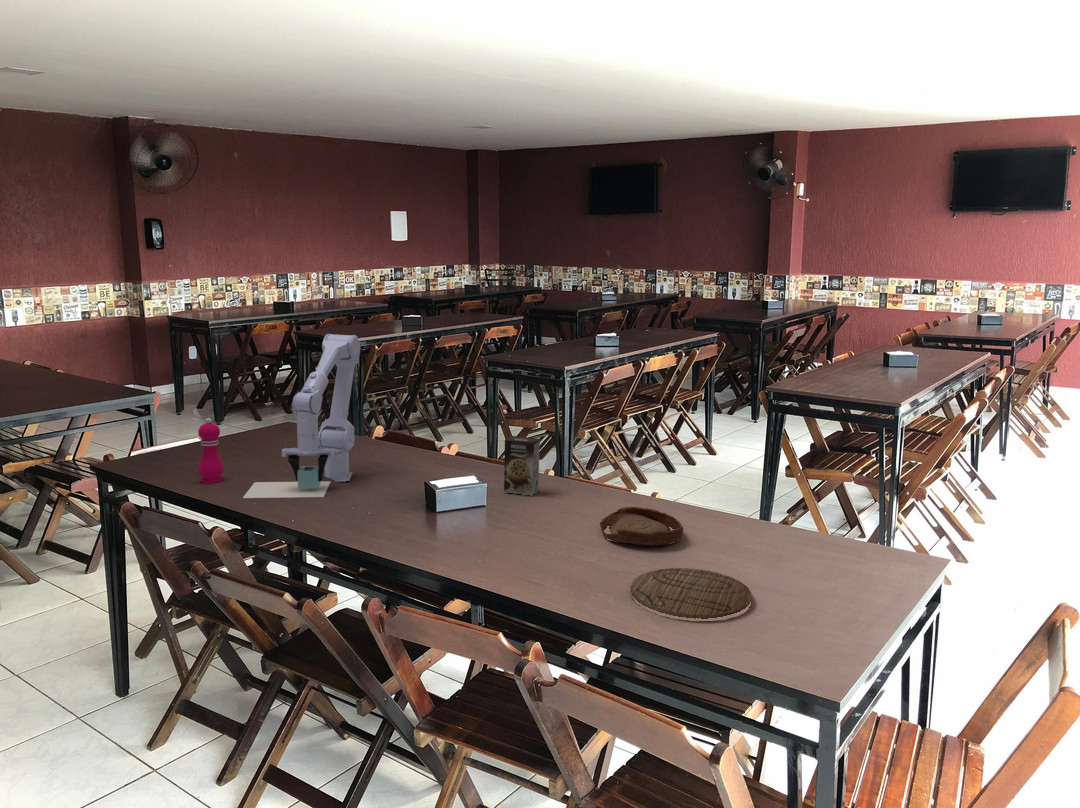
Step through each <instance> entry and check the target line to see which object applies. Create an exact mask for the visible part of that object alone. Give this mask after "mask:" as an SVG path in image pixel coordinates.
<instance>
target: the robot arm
mask: <svg viewBox="0 0 1080 808" xmlns="http://www.w3.org/2000/svg"><path fill="white" fill-rule="evenodd" d="M322 339H323V341H322V343H321V349H322V355H321V357H320V360H319V363H318V364H317V366H316V370H315V371H312V372H310V374H309V376H308V378H307V379H306V381H305V383H304V385H303V387H302V389H301V391H299V392H297V393H295V395H294V396H293V398H292V403H291V408H292V410H293V413H294V417H295V419H296V432H297V434H296V435H297V447H292V448H290V447H289V448H287V447H286V448H282V449H281V457H282V458H283V457H288V458H287V461H288V463H289V464H290V467H291V469H292V471H293V473H294V476H295V482H298V476H297V471H298V469H299V468H300V457H317V464H318V465H317V466H319V481H323V475H324V477H326V478H327V479H330V480H333V481H335V482H337V483H342V482H343V483H344V482H346V481H349V482H350V481H351V478H352V476H353V472H351V471H350V460H349V459H350V457H349V455H350V454H349V451H351V450H352V448H353V446H354V444H355V441H356V440H355V426H354V425H353V424H352V423H351V422H350V421H349V420H348V415H349V407H350V401H351V394H352V393H351V392H352V389H353V388H352V385H353V380H354V372H355V366H356V365H358V363H359V360H360V353H361V343H360V339H359V337H358V336H357V335H356V334H352V335H350V334H349V335H347V334H332V333H326V335H325V336H324V338H322ZM334 366H336V374H335V380H334V386H333V394H332V401H331V407H330V413H329V418H327V419H325V420H324V421H322V423H321V426H320V429H319V420H318V419H319V418H318V417H319V416H318V415H319V414H318V413H319V412H320V410H321V408H322V402H323V397H324V396H323V394H324V392H325V390H326V388H327V386H328V384H329V378H328V376H329V374H330V373H331V371H332V370H333V368H334ZM346 483H347V482H346Z"/></svg>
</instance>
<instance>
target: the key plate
mask: <svg viewBox="0 0 1080 808" xmlns="http://www.w3.org/2000/svg"><path fill="white" fill-rule="evenodd" d="M331 482H332V481H331V480H330V481H323V480H322V481H321V483H320V485H319V487H318V488H298V481H266V482H265V481H263V482H262V481H259V482H258V481H256V482H253V484H252V485H251V486H250V488H249V489H248V490H247V492H245V494H244V495H243V497H242V499H271V498H273V499H274V498H279V499H280V498H283V499H284V498H324V497H325V495H326V493H327V491H328V488H329V486H330V484H331Z"/></svg>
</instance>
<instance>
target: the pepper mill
mask: <svg viewBox="0 0 1080 808" xmlns="http://www.w3.org/2000/svg"><path fill="white" fill-rule="evenodd" d="M197 431H198V433H197V434H198V437H199V438H201V439H200V445H201V446H202V455H201V458H200V461H199V464H198V468H197V472H198V475H200V477H201V478H200V479H199V480H200V482H201V483H203V484H204V483H205V484H214V483H220V482H222V481H223V479H224V478H223V476H222V475H223V473H224V472H225V466H224V463H223V461H222V459H221V457H220V455H219V450H218V445H219V444H220V442H219V437H220V434H221V429H220V427H219V425H217V424H216V423H214V422H213V419H212V418H210V417H207V418H206V419H205V423H203V424H201V425H200V426H199V428H198V429H197Z"/></svg>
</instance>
